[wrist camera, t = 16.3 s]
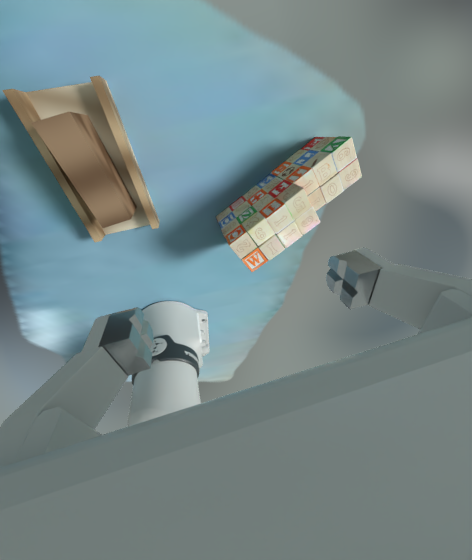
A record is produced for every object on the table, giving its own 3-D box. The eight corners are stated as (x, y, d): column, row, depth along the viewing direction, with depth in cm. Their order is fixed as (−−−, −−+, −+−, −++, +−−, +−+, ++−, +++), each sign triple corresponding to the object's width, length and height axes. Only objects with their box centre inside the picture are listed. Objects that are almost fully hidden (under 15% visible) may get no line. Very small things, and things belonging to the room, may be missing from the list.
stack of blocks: (315, 134, 35) (370, 136, 25) (327, 168, 38) (379, 181, 29) (214, 217, 39) (228, 246, 29) (234, 241, 42) (252, 274, 32)
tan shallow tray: (159, 221, 37) (158, 227, 34) (100, 234, 36) (94, 242, 33) (106, 81, 26) (99, 75, 23) (19, 94, 25) (2, 90, 22)
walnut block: (57, 124, 27) (31, 122, 22) (87, 115, 27) (68, 111, 22) (113, 214, 34) (102, 228, 29) (137, 207, 34) (130, 219, 29)
